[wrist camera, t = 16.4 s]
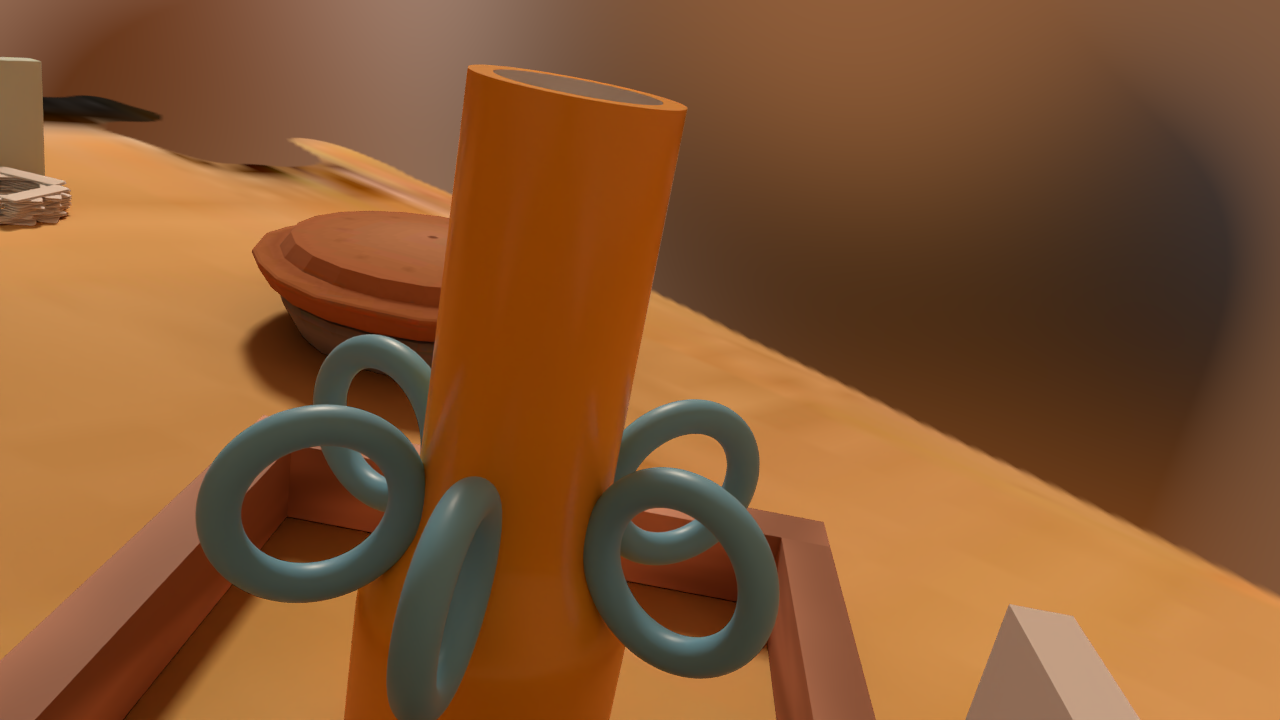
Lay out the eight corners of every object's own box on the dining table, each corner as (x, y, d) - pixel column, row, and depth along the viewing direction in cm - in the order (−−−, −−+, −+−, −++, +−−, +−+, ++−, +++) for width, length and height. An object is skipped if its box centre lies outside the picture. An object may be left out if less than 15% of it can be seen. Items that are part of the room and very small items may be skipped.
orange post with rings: (617, 582, 30) (721, 88, 24) (809, 856, 21) (1030, 185, 16) (179, 631, 24) (195, 3, 19) (198, 1033, 15) (236, 80, 10)
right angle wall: (-37, 261, 45) (-47, 101, 43) (-190, 199, 49) (-208, 50, 47) (173, 229, 56) (175, 99, 53) (33, 181, 60) (29, 58, 57)
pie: (640, 391, 45) (660, 290, 43) (301, 417, 36) (310, 292, 34) (499, 285, 56) (510, 202, 55) (217, 285, 48) (221, 186, 46)
